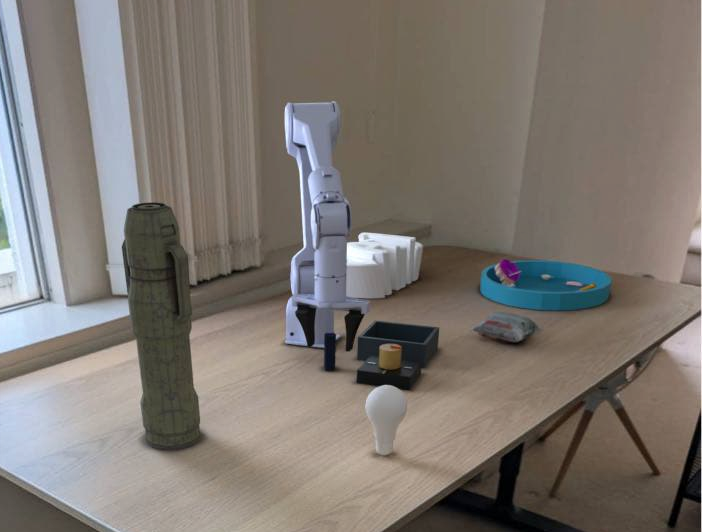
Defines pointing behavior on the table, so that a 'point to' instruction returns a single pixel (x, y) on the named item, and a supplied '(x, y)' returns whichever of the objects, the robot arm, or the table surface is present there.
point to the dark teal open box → (399, 340)
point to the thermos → (161, 324)
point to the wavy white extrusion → (381, 264)
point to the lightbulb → (385, 415)
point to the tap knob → (390, 356)
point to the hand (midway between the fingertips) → (330, 347)
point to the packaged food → (506, 327)
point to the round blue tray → (545, 285)
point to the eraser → (329, 351)
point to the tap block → (389, 374)
